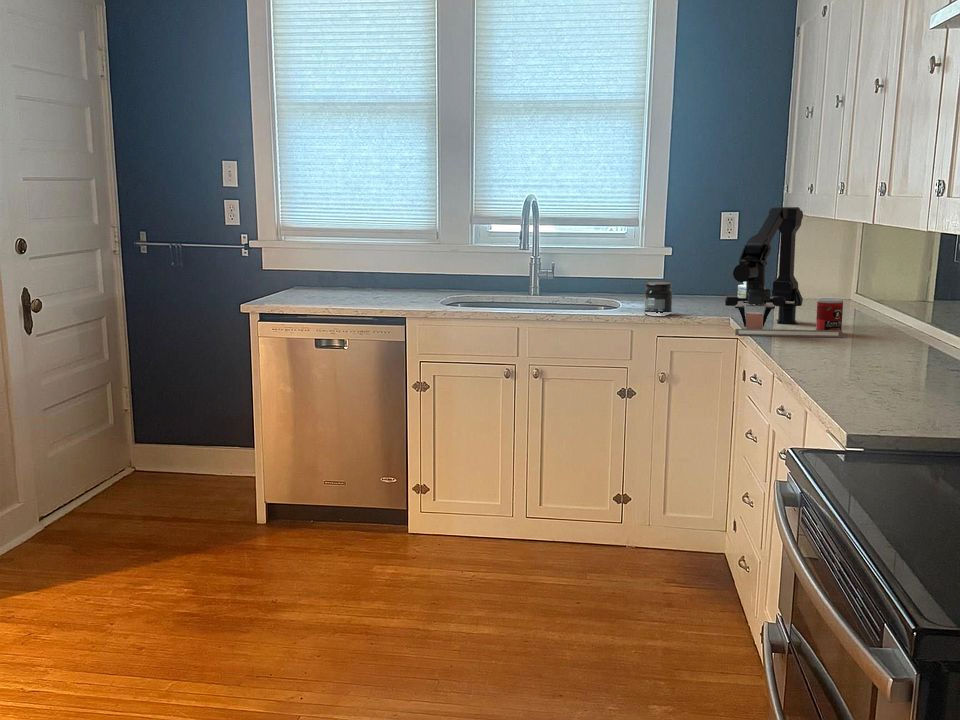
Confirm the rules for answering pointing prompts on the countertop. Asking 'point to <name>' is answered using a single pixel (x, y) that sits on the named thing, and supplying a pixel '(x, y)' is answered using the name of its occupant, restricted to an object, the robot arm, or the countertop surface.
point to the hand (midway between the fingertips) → (753, 327)
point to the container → (742, 290)
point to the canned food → (829, 314)
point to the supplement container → (658, 297)
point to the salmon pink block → (754, 320)
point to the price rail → (788, 333)
